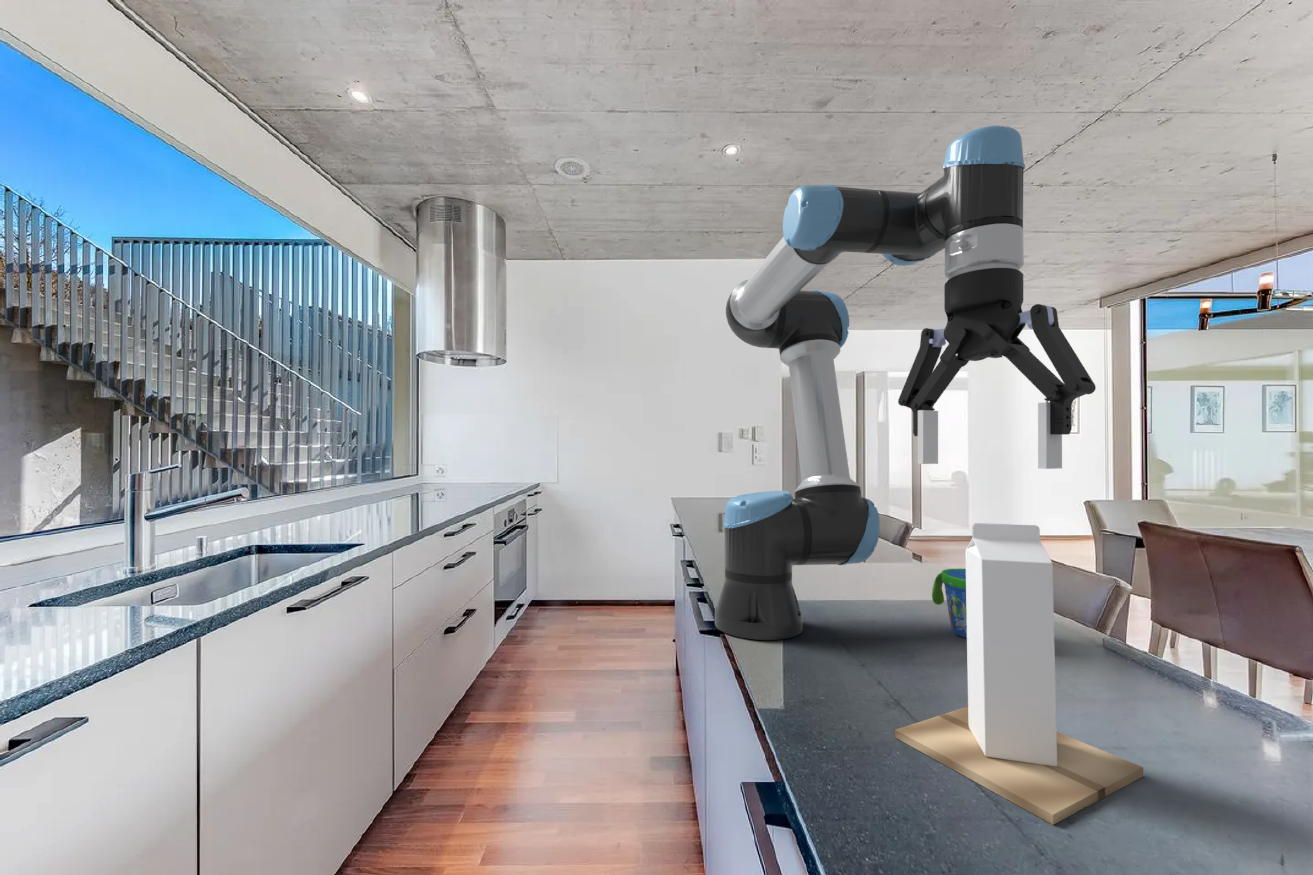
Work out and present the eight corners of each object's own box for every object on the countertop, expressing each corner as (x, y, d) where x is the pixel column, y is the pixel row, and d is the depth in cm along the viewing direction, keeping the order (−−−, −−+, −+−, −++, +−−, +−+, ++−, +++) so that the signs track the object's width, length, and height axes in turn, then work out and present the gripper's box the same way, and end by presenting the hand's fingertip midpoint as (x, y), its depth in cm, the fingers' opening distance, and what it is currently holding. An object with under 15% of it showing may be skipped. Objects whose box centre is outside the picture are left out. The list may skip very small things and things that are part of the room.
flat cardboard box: (895, 737, 56) (895, 729, 56) (983, 708, 63) (983, 700, 63) (1053, 824, 43) (1052, 814, 43) (1143, 776, 50) (1143, 766, 50)
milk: (968, 727, 57) (963, 519, 58) (1034, 736, 55) (1027, 521, 56) (985, 758, 51) (979, 526, 52) (1060, 768, 49) (1052, 528, 50)
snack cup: (1047, 648, 83) (1046, 582, 84) (995, 656, 80) (994, 587, 80) (963, 619, 98) (962, 563, 98) (916, 624, 95) (915, 567, 95)
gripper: (869, 298, 69) (868, 462, 69) (1096, 229, 47) (1097, 471, 46) (909, 305, 72) (909, 462, 72) (1139, 243, 50) (1140, 470, 50)
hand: (982, 466), depth 59 cm, fingers open, 13 cm apart
